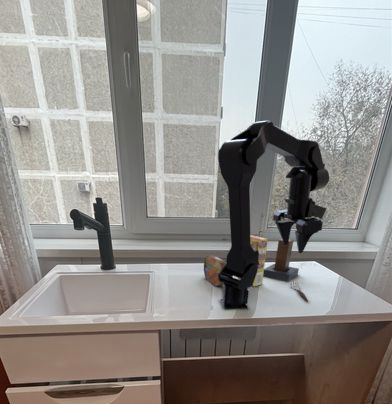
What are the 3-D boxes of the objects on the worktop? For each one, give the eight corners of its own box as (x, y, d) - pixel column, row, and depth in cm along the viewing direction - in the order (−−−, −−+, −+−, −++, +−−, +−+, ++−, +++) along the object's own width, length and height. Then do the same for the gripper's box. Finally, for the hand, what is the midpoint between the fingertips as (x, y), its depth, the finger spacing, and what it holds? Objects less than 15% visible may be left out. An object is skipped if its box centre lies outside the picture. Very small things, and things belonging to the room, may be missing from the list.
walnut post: (283, 277, 105) (289, 241, 99) (273, 275, 107) (278, 239, 101) (287, 275, 108) (293, 239, 102) (277, 273, 110) (282, 238, 104)
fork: (302, 302, 85) (304, 296, 84) (289, 284, 99) (290, 279, 98) (311, 303, 85) (313, 296, 84) (296, 284, 99) (297, 279, 98)
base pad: (288, 281, 101) (289, 274, 100) (262, 276, 106) (263, 269, 105) (297, 274, 109) (298, 268, 107) (272, 270, 114) (273, 263, 112)
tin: (202, 276, 105) (203, 252, 101) (210, 275, 106) (211, 252, 102) (219, 289, 93) (221, 264, 89) (228, 288, 94) (230, 263, 90)
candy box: (262, 284, 98) (268, 238, 90) (253, 287, 96) (259, 239, 88) (245, 277, 104) (249, 234, 97) (236, 279, 102) (240, 235, 95)
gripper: (345, 195, 75) (334, 253, 84) (306, 187, 91) (300, 237, 99) (306, 200, 74) (299, 259, 82) (274, 191, 89) (270, 242, 97)
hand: (292, 248), depth 90 cm, fingers open, 9 cm apart
